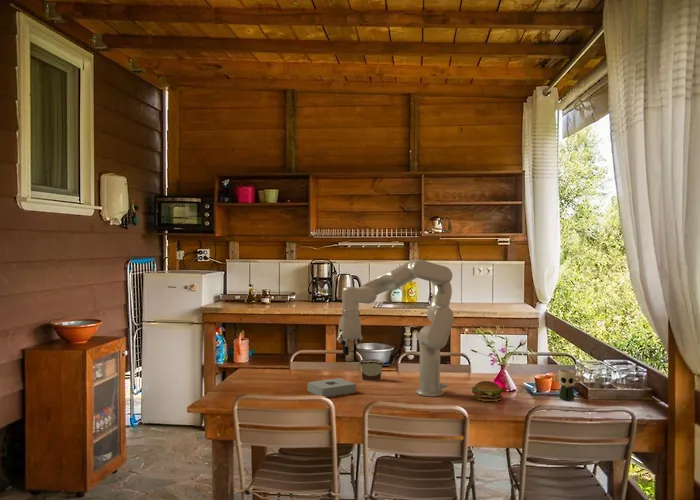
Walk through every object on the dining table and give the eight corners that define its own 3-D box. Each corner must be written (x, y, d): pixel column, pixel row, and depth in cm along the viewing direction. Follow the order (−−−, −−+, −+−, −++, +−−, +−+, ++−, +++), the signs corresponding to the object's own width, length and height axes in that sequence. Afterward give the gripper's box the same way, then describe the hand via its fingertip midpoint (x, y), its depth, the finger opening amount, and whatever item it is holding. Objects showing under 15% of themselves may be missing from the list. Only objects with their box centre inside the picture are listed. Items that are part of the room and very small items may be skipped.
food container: (383, 378, 287) (384, 359, 287) (383, 380, 281) (383, 361, 281) (360, 377, 288) (360, 358, 288) (359, 380, 282) (359, 360, 282)
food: (465, 399, 248) (465, 381, 248) (481, 393, 258) (481, 376, 258) (493, 405, 238) (493, 387, 238) (508, 399, 249) (508, 381, 249)
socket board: (339, 386, 269) (339, 377, 269) (355, 392, 257) (355, 383, 257) (307, 390, 259) (307, 382, 259) (322, 397, 248) (322, 388, 248)
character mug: (554, 400, 248) (554, 371, 248) (553, 396, 254) (553, 368, 254) (580, 402, 244) (580, 373, 244) (578, 398, 251) (579, 370, 251)
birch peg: (350, 359, 252) (351, 337, 252) (355, 360, 249) (355, 338, 249) (344, 359, 250) (344, 338, 250) (348, 361, 247) (348, 339, 247)
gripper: (360, 312, 258) (359, 351, 258) (330, 314, 248) (329, 354, 248) (369, 314, 251) (369, 354, 251) (339, 316, 242) (338, 357, 242)
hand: (349, 354), depth 250 cm, fingers closed on birch peg, 3 cm apart
